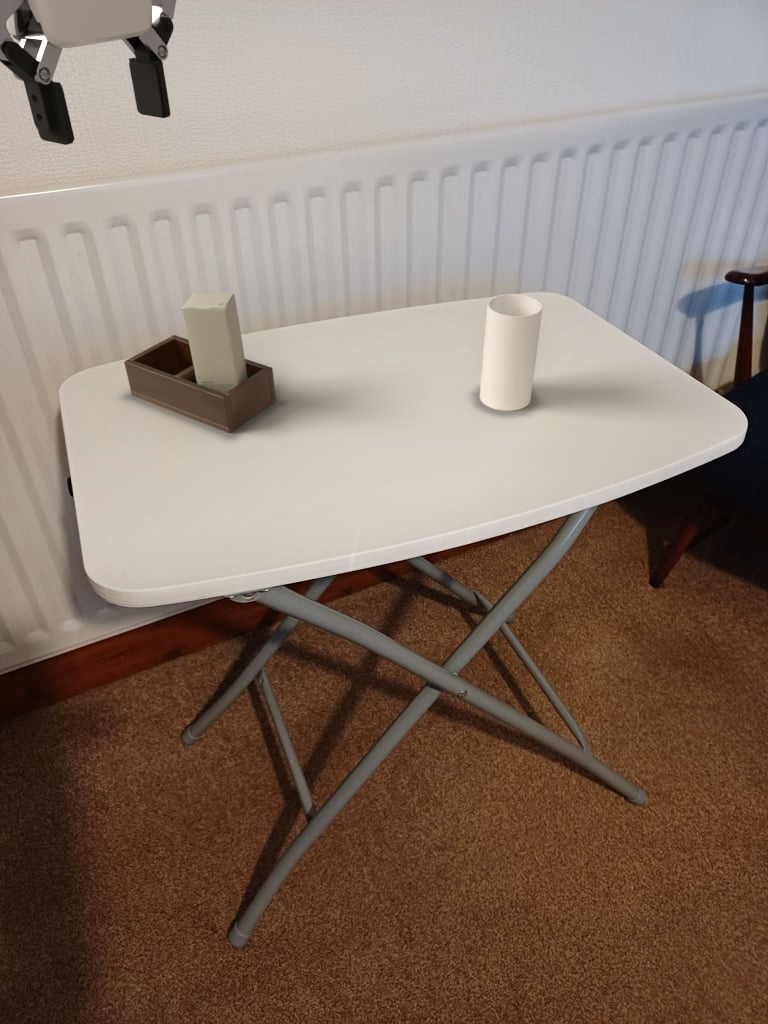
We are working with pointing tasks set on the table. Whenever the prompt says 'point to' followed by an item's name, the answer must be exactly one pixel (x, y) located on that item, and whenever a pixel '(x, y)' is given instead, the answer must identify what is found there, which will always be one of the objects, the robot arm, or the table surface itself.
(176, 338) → the divided tray
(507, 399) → the cup
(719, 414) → the table surface
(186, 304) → the box
